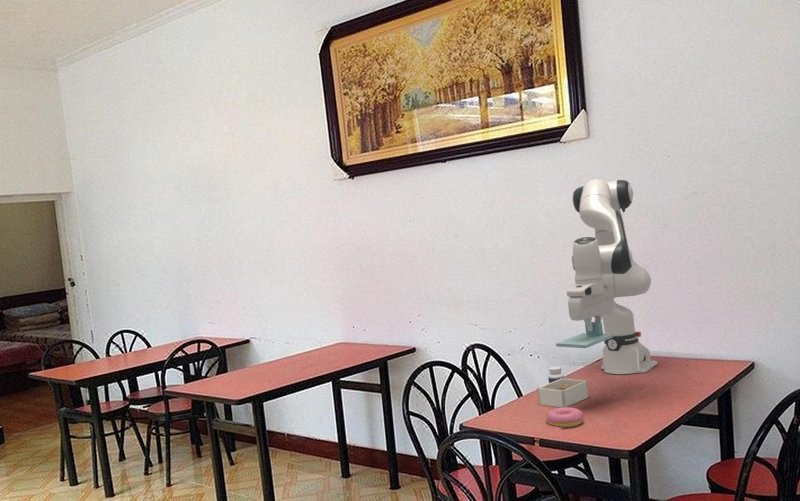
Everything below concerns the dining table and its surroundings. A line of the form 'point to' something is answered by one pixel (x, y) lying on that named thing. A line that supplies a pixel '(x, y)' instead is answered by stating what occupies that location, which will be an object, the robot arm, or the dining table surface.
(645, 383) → the dining table surface
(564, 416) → the doughnut
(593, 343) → the lid
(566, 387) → the block
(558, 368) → the pill bottle
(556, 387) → the tub
